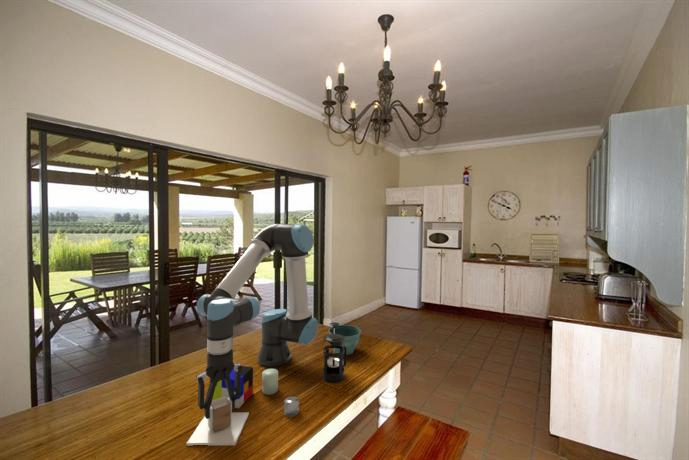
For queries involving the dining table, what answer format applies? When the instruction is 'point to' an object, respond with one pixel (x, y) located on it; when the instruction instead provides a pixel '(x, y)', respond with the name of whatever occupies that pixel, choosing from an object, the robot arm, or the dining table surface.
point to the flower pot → (347, 337)
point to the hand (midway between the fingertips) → (219, 423)
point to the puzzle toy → (245, 386)
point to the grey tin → (291, 406)
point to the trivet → (219, 432)
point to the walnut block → (221, 413)
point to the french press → (334, 363)
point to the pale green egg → (269, 381)
